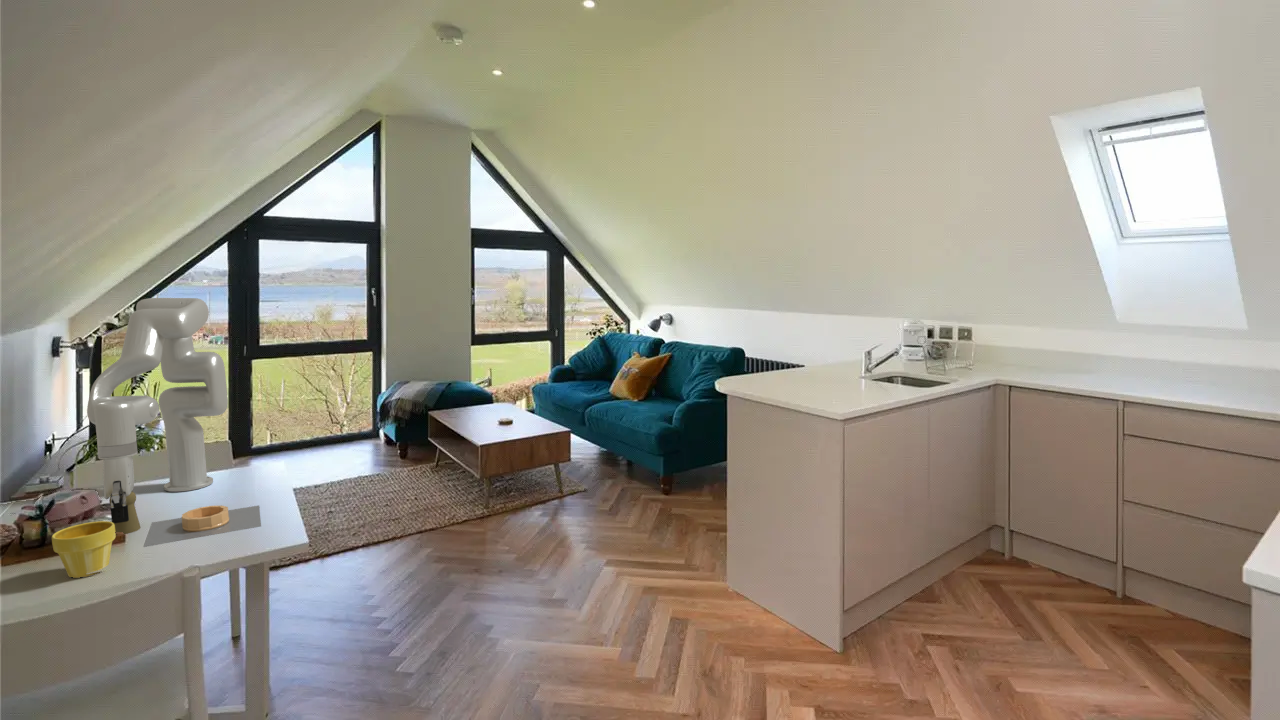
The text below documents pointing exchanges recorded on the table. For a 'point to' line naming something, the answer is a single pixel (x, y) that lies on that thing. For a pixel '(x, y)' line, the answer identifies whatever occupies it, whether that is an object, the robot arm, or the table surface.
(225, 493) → the table surface
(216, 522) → the tan shallow bowl
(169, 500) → the table surface
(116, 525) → the cork
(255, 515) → the slate board
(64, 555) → the plant pot
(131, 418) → the robot arm
